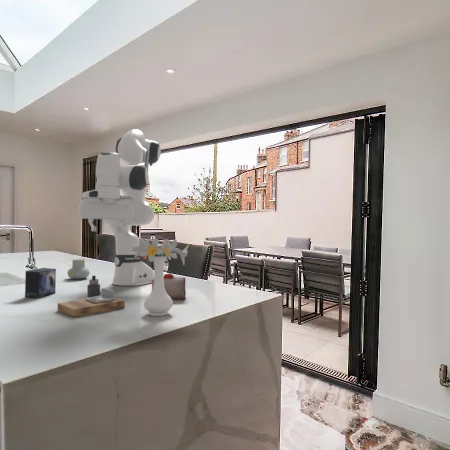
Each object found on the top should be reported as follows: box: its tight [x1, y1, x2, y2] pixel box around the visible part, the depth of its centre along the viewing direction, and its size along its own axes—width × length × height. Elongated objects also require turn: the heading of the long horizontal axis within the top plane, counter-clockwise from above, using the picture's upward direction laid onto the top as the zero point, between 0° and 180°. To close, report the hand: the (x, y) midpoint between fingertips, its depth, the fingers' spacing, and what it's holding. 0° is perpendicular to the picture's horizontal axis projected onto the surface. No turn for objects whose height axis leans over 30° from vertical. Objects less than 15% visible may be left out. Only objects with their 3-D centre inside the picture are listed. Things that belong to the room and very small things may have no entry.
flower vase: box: [132, 237, 190, 317], centre depth 119 cm, size 13×18×25 cm
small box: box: [24, 267, 57, 299], centre depth 146 cm, size 11×6×10 cm, turn 168°
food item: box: [151, 272, 187, 300], centre depth 143 cm, size 14×8×10 cm, turn 95°
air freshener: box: [67, 258, 90, 280], centre depth 188 cm, size 11×8×10 cm
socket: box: [57, 297, 126, 319], centre depth 124 cm, size 18×12×3 cm, turn 138°
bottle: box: [86, 275, 101, 298], centre depth 137 cm, size 4×4×10 cm
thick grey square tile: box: [85, 287, 115, 303], centre depth 126 cm, size 7×7×3 cm
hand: (106, 231), depth 136 cm, fingers open, 8 cm apart
